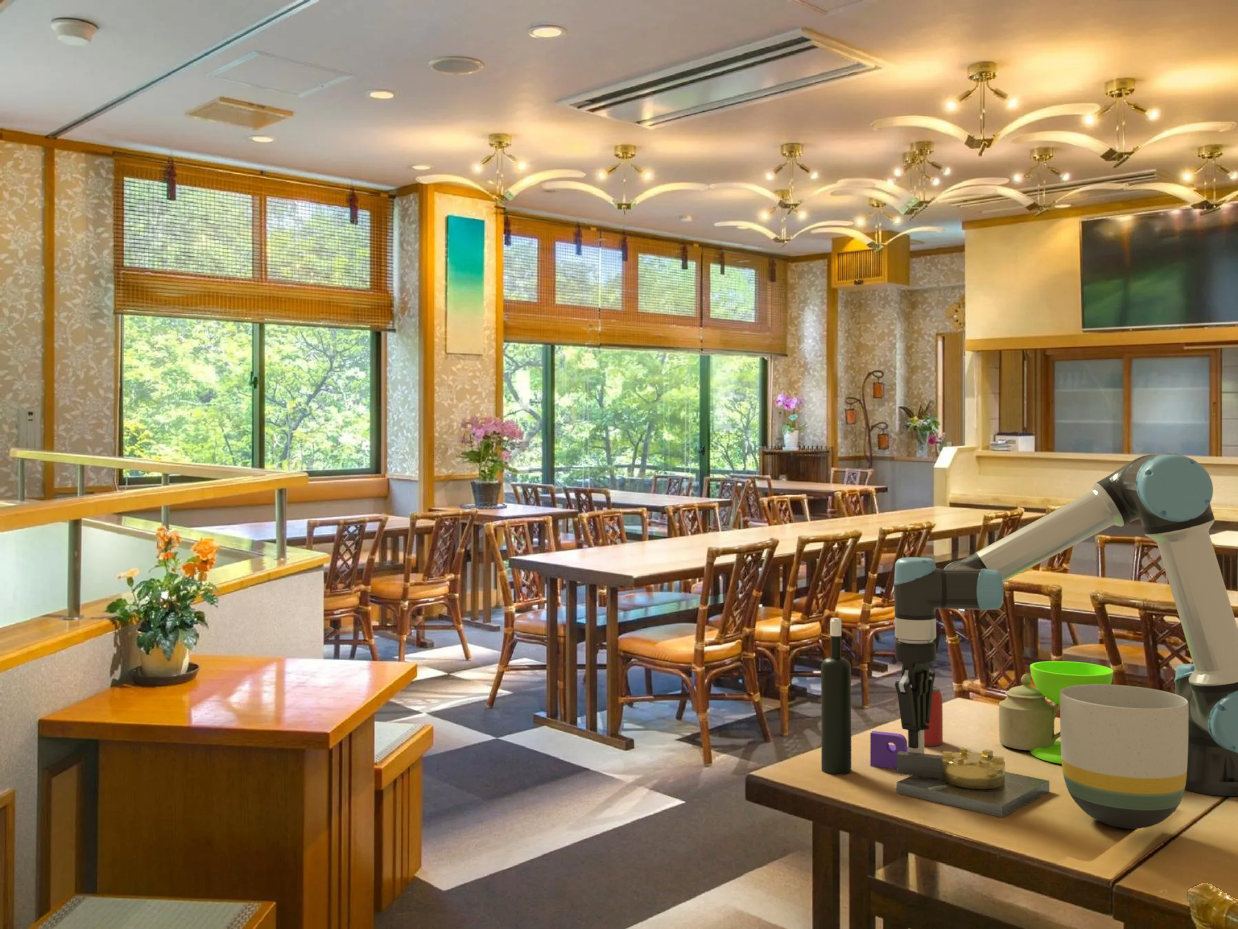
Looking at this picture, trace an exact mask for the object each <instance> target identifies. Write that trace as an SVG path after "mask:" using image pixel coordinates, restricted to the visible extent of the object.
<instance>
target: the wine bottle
mask: <svg viewBox="0 0 1238 929" xmlns="http://www.w3.org/2000/svg"><path fill="white" fill-rule="evenodd" d="M829 624H830V625H829V626H830V627H829V628H830V629H829V635H830V657H826V658H825V659H823V661H822V662H821V664H820V666H821V667H820V671H821V672H820V677H821V678H820V688H821V690H820V692H821V696H820V698H821V699H820V700H821V702H820V704H821V705H820V707H821V708H820V709H821V710H820V711H821V712H820V713H821V714H820V715H821V718H820V719H821V722H820V723H821V724H820V726H821V730H820V731H821V733H820V734H821V743H820V744H821V745H820V747H821V748H820V749H821V750H820V751H821V757H820V758H821V771H822V772H824V773H826V774H830V775H848V774H850V773H851V772H852V666H851V663H850V661H849V660H848V659H846V658H844V657H842V618H839V617H830V621H829Z"/></svg>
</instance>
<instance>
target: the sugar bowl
mask: <svg viewBox="0 0 1238 929" xmlns="http://www.w3.org/2000/svg"><path fill="white" fill-rule="evenodd" d="M1020 682H1021V684H1022V685H1018V686H1013V687H1011V688H1010V689H1008V690H1007V691H1005V692H1004V694H1005V695H1006V698H1004V700H1001V701H999V703H998V732H999V743H1000V744H1001V745H1002V746H1005V747H1008V748H1010V749H1011V748H1012V749H1016V750H1022V751H1023V750H1024V751H1031V750H1034V749H1035V748H1048V747H1051V746H1053V745H1054V742H1055V741H1057V739H1059V738H1061V736H1060V731H1059V732H1057V733H1055V719H1056V717H1057V715H1058V710H1059V708H1060V705H1059V704H1056V703H1054V702H1053V703H1054V704H1051V703H1050V702H1048V701H1047V700H1046V699H1047V698H1046V697H1045V696H1044V695H1043V694H1042V693H1041V692H1040V691H1039V689H1038V688H1037V687H1035V686H1031V685H1030V684H1031V682H1032V681H1031V677H1030V676H1029V674H1027V673H1024V674H1022V676H1021V679H1020Z"/></svg>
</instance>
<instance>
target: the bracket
mask: <svg viewBox="0 0 1238 929" xmlns="http://www.w3.org/2000/svg"><path fill="white" fill-rule="evenodd" d="M869 737H870V742H869V743H870V744H869V745H870V746H869V747H870V749H869V751H870V753H869V754H870V755H869V756H870V757H869V758H870V763H869V765H870V766H871V767H879V768H887V769H894V770H897V754H898V752H899V751H902V752H908V739H907V738H906V737H905V736H904V734H901V733H897V732H888V731H887V732H886V731H877V730H872V731H871V732H870V736H869ZM890 743H891V744H890Z"/></svg>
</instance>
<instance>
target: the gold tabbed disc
mask: <svg viewBox="0 0 1238 929" xmlns="http://www.w3.org/2000/svg"><path fill="white" fill-rule="evenodd" d="M956 748H957V752H953V751H947V750H943V751H942V755H941V754H931V753H924V754H923V753H912V752H902V751H899V752H898V754H897V769H896V774H898V775H908V776H912V775H916V776H925V777H934V778H942V779H943V780H944V781H945V782H947V783H950V784H952V785H956V786H960V787H966V788H975V789H990V788H997V787H1001V786H1003V785H1004V784H1005V772H1006V768H1005V767H1006V763H1005V761H1004V760H1005V757H1004V756H998V755H994V750H991V749H988V748H987V749H984V750H982V751H981V753H980V752H973V751H971V752H970V751H968V749H967V748H966V747H964V746H961V747H960V746H959V747H956Z"/></svg>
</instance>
